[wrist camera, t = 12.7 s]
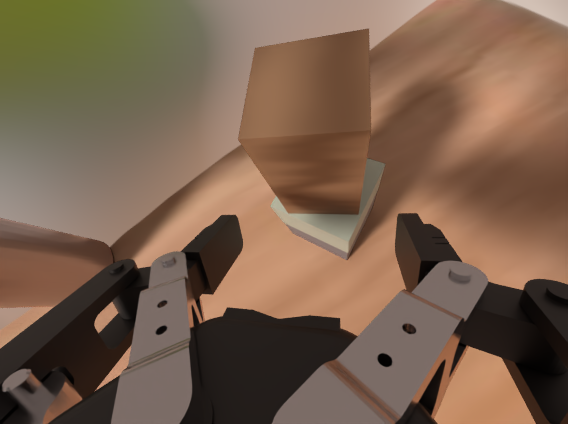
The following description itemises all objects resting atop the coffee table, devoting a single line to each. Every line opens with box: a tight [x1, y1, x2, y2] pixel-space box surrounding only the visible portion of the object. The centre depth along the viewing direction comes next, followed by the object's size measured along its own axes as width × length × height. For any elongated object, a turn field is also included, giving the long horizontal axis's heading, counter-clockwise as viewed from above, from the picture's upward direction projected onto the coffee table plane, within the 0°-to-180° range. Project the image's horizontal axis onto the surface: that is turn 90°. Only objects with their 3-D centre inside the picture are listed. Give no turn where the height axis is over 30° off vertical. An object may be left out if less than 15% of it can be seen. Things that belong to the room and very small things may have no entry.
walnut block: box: [238, 29, 371, 215], centre depth 15 cm, size 6×6×10 cm
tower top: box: [270, 158, 385, 253], centre depth 22 cm, size 7×7×5 cm
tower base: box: [286, 193, 377, 260], centre depth 27 cm, size 7×7×5 cm
